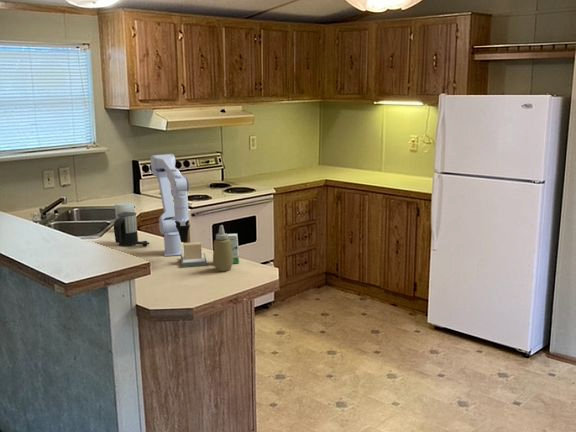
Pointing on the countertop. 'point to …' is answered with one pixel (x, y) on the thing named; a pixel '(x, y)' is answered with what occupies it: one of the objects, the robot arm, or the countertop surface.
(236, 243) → the ink box
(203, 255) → the grey picture frame
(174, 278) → the countertop surface
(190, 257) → the carton
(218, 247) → the squeeze bottle
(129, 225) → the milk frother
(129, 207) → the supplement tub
